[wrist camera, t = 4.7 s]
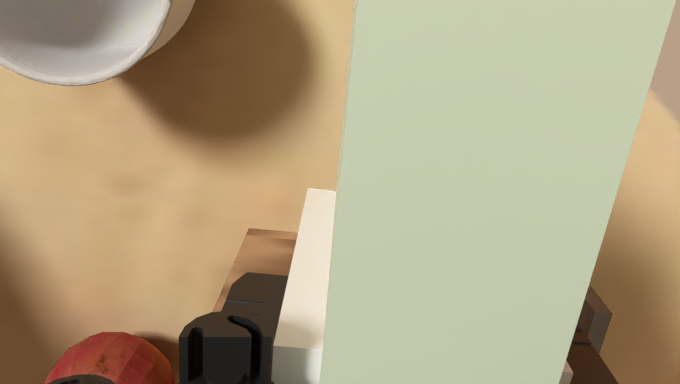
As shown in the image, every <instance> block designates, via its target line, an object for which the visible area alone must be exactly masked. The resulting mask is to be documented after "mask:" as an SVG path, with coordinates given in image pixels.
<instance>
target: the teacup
mask: <svg viewBox="0 0 680 384" xmlns="http://www.w3.org/2000/svg"><path fill="white" fill-rule="evenodd" d="M194 3H195V0H0V64H1V65H2V66H3V67H5V68H7V69H9V70H11V71H13V72H15V73H17V74H19V75H22V76H24V77H27V78H29V79H32V80H36V81H39V82H42V83H48V84H54V85H62V86H82V85H92V84H96V83H99V82H103V81H106V80H109V79H111V78H114V77H117V76H118V75H120V74H122V73H124V72H126V71H128V70H129V69H130V68H131V67H133V66H134V65H135V64H137V63H138V62H139V61H140V60H142V59H144V58H145V57H147V56H149V55H150V54H152V53H153V52H155V51H157V50H158V49H160V48H161V47H162V46H164V45H165V44H166V43H167V42H168V41H169V40H170V39H171V38H172V37H173V36H174V35H176V33H177V32H178V31H179V30H180V28H181V27H182V26H183V25H184V23H185V21H186V20H187V18H188V16H189V15H190V12H191V10H192V8H193V6H194Z"/></svg>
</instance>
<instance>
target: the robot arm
mask: <svg viewBox="0 0 680 384" xmlns="http://www.w3.org/2000/svg"><path fill="white" fill-rule="evenodd" d="M335 198H336V191H332V190H322V189H311V188H308V191H307V195H306V200H305V204H304V209H303V213H302V218H301V222H300V227H299V231H298V236H297V240H296V245H295V249H294V254H293V258H292V263H291V268H290V272H289V276H284V275H273V274H263V273H252V272H246V273H245V274H244V275H242V276H241V277H240V278H239V279H237V280H236V281H235V282H234V283H232V285H231V288H230V290H229V293H228V295H227V298H226V302H224V305H223V307H222V310H221V311H220V312H211V313H209V314H206V315H203V316H200V317H197V318H196V319H194V320H193V321H192V322H190V323H189V324H187V325H186V326H185V327H184V329H183V330H182V332H181V334H180V336H179V374H180V383H178V384H319V381H320V370H321V360H322V350H323V338H324V327H325V315H326V303H327V292H328V280H329V268H330V257H331V245H332V233H333V221H334V210H335ZM48 384H115V383H114V382H113V381H112V380H111V379H108V378H105V377H102V376H99V375H96V374H77V375H72V376H68V377H63V378H59V379H56V380H54V381H52V382H50V383H48ZM559 384H618V382H617V381H616V379H615V378H614V376H613V375H612V373H611V372H610V370H609V369H608V367H607V366H606V364H605V363H604V361H603V360H602V358H601V357H600V355H599V354H598V352H597V351H596V349H595V348H594V347H591V342H590V340H589V339H588V337H587V336H586V334H585V333H582V328H581V327H580V325H579V324H578V322H577V326H576V329H575V332H574V336H573V339H572V342H571V345H570V349H569V352H568V355H567V358H566V362H565V365H564V368H563V372H562V375H561V378H560V381H559Z"/></svg>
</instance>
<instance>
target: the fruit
mask: <svg viewBox="0 0 680 384" xmlns="http://www.w3.org/2000/svg"><path fill="white" fill-rule="evenodd" d="M77 374H96V375H99V376H102V377H105V378H108V379H111V380H112V381H113V382H114V383H115V384H175V380H174V375H173V371H172V366H171V363H170V362H169V361H168V359H167V358H166V357H165V356H164V355H163V354H162V353H161V352H160V350H159V349H157V348H156V347H155V346H153V345H152V344H150V343H149V342H148V341H146V340H145V339H143V338H140V337H137V336H134V335H131V334H128V333H124V332H102V333H99V334H96V335H93V336H90V337H88V338H86V339H85V340H83V341H81V342H79V343H78V344H76V345H74V346H73V347H71V348H69V349H68V350H67V351H66V352H65V353H64V354H63V356H62V357H61V358H60V359H59V360H58V362H57V363H56V365H55V366H54V368H53V369H52V371H51V372H50V374H49V375H48V377H47V378H46V380H45V382H44V384H48V383H50V382H52V381H54V380H56V379H59V378H63V377H68V376H72V375H77Z"/></svg>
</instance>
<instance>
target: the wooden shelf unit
mask: <svg viewBox="0 0 680 384" xmlns="http://www.w3.org/2000/svg"><path fill="white" fill-rule="evenodd" d="M297 236H298V233H291V232H281V231H271V230H260V229H250V228H249V230H248V232H247V234H246V237H245V239H244V241H243V243H242V246H241V248H240V250H239V252H238V255H237V257H236V259H235V262H234V264H233V266H232V268H231V271H230V273H229V275H228V278H227V280H226V282H225V284H224V287H223V289H222V291H221V293H220V296H219V298H218V300H217V303H216V305H215V307H214V309H213V312H220V311H221V310H222V307H223V305H224V302H226V298H227V295H228V293H229V290H230V288H231V285H232V283H234V282H235V281H236V280H237V279H239V278H240V277H241V276H242V275H244V274H245V273H246V272H252V273H263V274H273V275H284V276H289V272H290V268H291V263H292V258H293V254H294V249H295V245H296V240H297ZM611 316H612V313H611V312H610V311H609V309H608V308H607V307H606V305H605V304H604V303H603V302H602V300H601V299H600V298H599V296H598V295H597V294H596V293H595V291H594V290H593V289H592V288H591V286H590V285H589V286H588V290H587V293H586V296H585V300H584V303H583V306H582V309H581V313H580V316H579V319H578V324H579V325H580V327H581V328H582V333H585V334H586V336H587V337H588V339H589V340H590V342H591V347H594V348H595V349H596V351H597V352H598V354H599V352H600V349H601V346H602V343H603V340H604V337H605V334H606V331H607V328H608V325H609V322H610V319H611Z"/></svg>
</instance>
